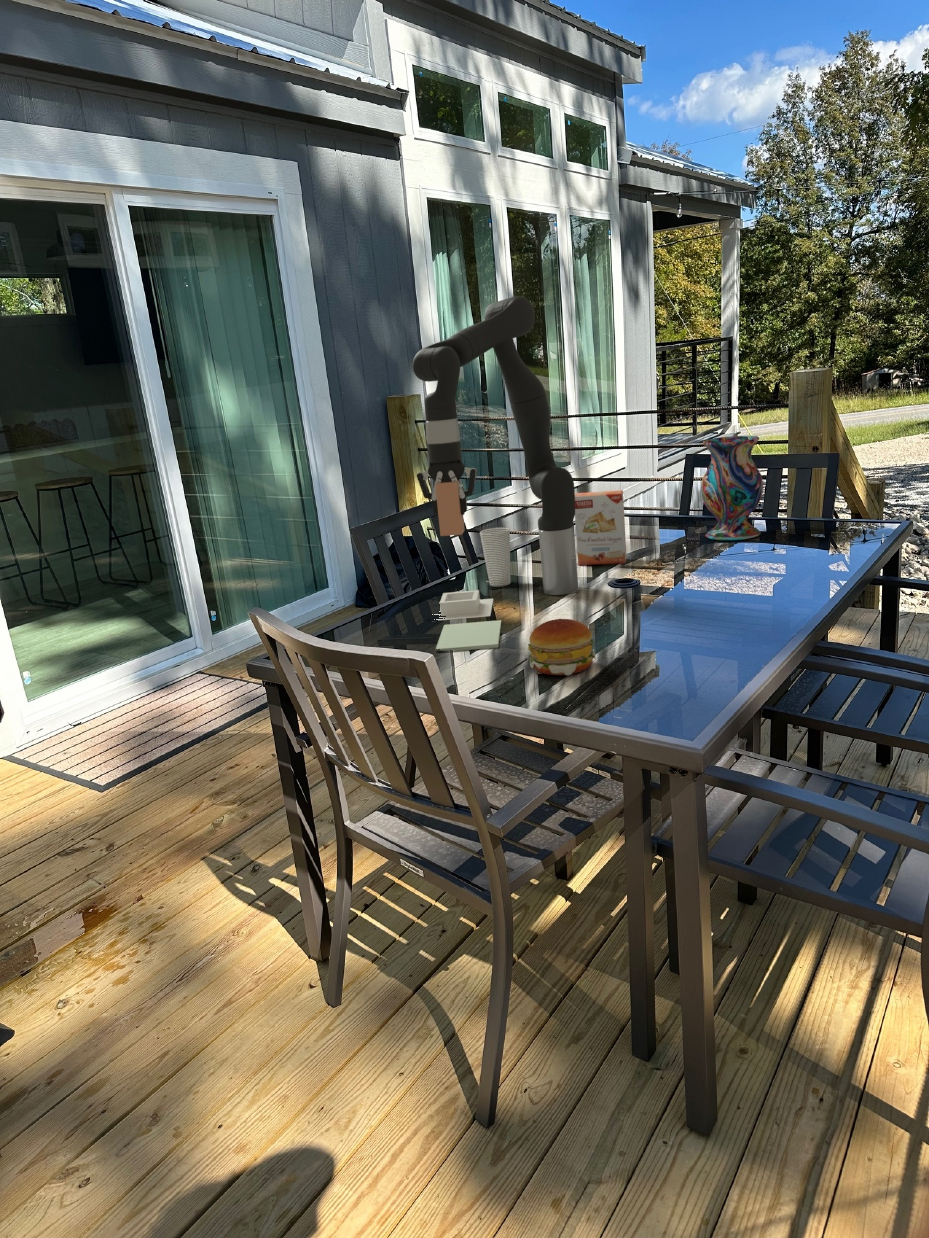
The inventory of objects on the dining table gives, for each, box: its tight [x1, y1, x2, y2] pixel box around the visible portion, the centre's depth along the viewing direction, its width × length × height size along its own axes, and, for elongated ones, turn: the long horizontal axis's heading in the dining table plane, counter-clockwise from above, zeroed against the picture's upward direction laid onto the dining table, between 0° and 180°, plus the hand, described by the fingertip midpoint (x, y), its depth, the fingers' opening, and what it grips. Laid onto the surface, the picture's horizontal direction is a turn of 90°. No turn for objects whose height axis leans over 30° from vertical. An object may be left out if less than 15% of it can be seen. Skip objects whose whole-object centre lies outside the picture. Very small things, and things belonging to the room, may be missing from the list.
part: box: [434, 482, 465, 537], centre depth 197 cm, size 5×5×12 cm
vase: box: [700, 435, 764, 541], centre depth 266 cm, size 18×18×30 cm
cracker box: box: [574, 489, 627, 566], centre depth 252 cm, size 14×6×21 cm, turn 76°
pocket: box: [432, 589, 494, 621], centre depth 221 cm, size 16×16×4 cm
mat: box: [435, 619, 502, 651], centre depth 200 cm, size 14×18×1 cm
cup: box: [479, 526, 511, 588], centre depth 242 cm, size 8×8×16 cm
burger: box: [527, 618, 597, 676], centre depth 173 cm, size 14×14×10 cm
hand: (450, 514), depth 198 cm, fingers closed on part, 5 cm apart
